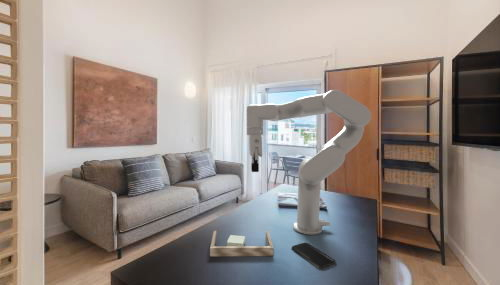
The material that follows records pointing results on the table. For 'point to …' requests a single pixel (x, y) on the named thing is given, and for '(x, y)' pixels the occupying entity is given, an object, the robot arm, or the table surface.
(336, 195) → the table surface
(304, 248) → the phone
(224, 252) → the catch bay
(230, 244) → the sage tile
